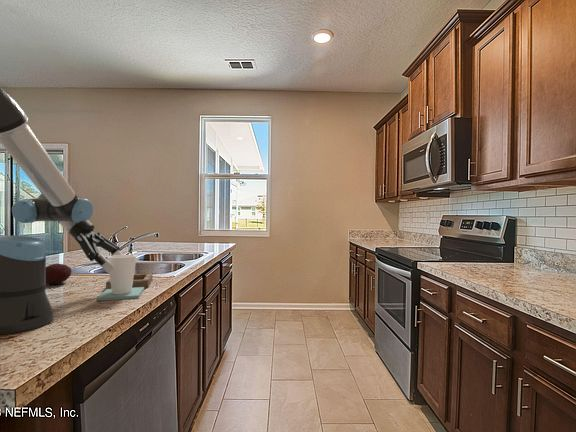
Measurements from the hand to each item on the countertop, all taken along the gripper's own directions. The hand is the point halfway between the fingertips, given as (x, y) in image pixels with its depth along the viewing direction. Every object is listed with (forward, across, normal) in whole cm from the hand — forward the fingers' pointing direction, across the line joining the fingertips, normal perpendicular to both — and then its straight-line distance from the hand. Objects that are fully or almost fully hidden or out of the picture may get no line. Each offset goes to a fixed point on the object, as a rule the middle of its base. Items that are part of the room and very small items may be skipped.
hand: (120, 267), depth 119 cm
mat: (+8, +1, -6) cm, 10 cm away
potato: (-16, -20, -31) cm, 40 cm away
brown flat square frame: (+6, -16, -8) cm, 19 cm away
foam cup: (+7, +1, -5) cm, 9 cm away
